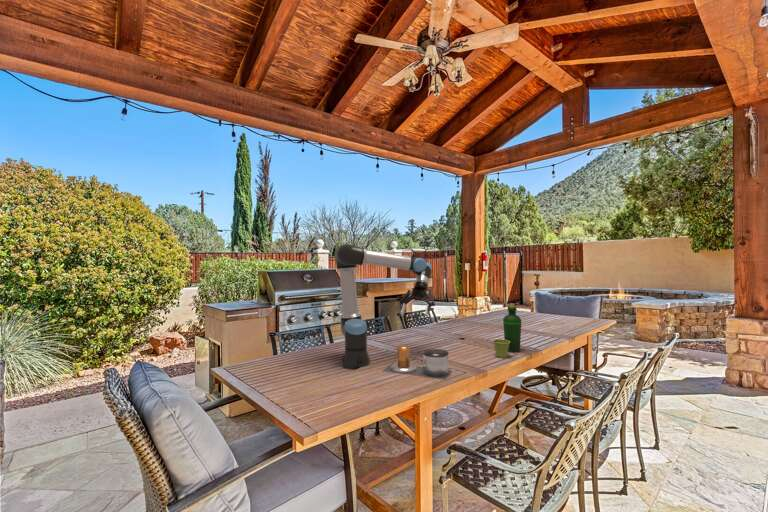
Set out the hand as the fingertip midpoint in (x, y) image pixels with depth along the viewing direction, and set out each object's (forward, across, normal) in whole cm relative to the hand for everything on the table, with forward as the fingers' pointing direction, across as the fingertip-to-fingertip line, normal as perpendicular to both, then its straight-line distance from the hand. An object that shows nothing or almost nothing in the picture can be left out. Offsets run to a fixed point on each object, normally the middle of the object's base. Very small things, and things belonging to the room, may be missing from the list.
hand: (413, 314), depth 188 cm
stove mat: (+29, -6, -7) cm, 31 cm away
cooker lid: (+28, +1, -7) cm, 29 cm away
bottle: (-13, -48, -50) cm, 70 cm away
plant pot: (-2, -42, -40) cm, 58 cm away
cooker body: (+28, -16, -7) cm, 33 cm away
